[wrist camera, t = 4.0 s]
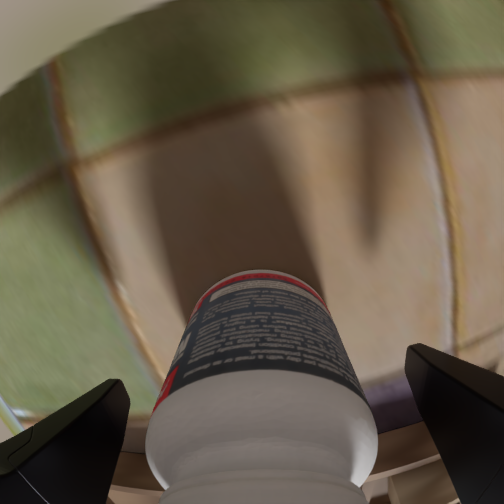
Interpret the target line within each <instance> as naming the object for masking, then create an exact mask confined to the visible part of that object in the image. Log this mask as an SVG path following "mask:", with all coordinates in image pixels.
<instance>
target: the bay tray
mask: <svg viewBox="0 0 504 504" xmlns="http://www.w3.org/2000/svg"><path fill="white" fill-rule="evenodd" d="M439 459H441V457H440V454H439V452H438V450H437V448H436V446H435V444H434V441H433V439H432V437H431V435H430V433H429V431H428V429H427V427H426V425H425V423H424V421H422V422H419V423H416V424H413V425H409V426H406V427H403V428H399V429H396V430H392V431H388V432H385V433H381V434H378V451H377V457H376V460H375V464H374V466H373V469H372V471H371V472H370V474H369V476H368V477H367V479H366V480H365V482H364V483H363V484H362V485H361V486H360V489H361V490H362V491H363V493H364V495H365V497H366V500H367V501H368V503H369V504H391V502H390V499H389V495H388V476H392V475H395V474H398V473H402V472H405V471H408V470H411V469H414V468H417V467H420V466H423V465H426V464H428V463H431V462H434V461H437V460H439ZM164 491H165V489H164V488H163V487H162V486H161V484H160V483H159V482H158V480H157V479H156V478H155V476H154V474H153V473H152V471H151V469H150V466H149V464H148V461H147V457H146V454H139V453H128V452H120V455H119V458H118V462H117V465H116V469H115V472H114V476H113V480H112V483H111V487H110V491H109V494H108V498H107V502H106V504H158V503H159V499H160V497H161V495H162V494H163V492H164Z"/></svg>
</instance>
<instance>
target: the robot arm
mask: <svg viewBox="0 0 504 504" xmlns="http://www.w3.org/2000/svg"><path fill="white" fill-rule="evenodd" d="M405 374H406V377H407V380H408V382H409V385H410V388H411V390H412V393H413V396H414V399H415V402H416V405H417V407H418V410H419V412H420V414H421V417H422V419H423V421H424V423H425V425H426V427H427V429H428V431H429V433H430V435H431V437H432V439H433V441H434V444H435V446H436V448H437V450H438V452H439V454H440V457H441V459H442V461H443V463H444V465H445V468H446V470H447V472H448V474H449V477H450V479H451V481H452V484H453V486H454V488H455V491H456V493H457V496H458V498H459V500H460V503H461V504H504V376H502V375H499V374H497V373H494V372H491V371H489V370H486V369H484V368H481V367H479V366H476V365H474V364H471V363H469V362H466V361H464V360H461V359H459V358H456V357H454V356H451V355H449V354H446V353H444V352H441V351H439V350H436V349H434V348H431V347H429V346H426V345H424V344H421V343H417V344H413V345H409V346H408V348H407V352H406V360H405ZM129 409H130V398H129V395H128V393H127V391H126V389H125V386H124V384H123V382H122V381H121V380H120V379H108V380H106V381H105V382H103V383H101V384H100V385H98V386H97V387H95V388H93V389H92V390H90V391H89V392H87V393H85V394H84V395H82V396H81V397H79V398H77V399H76V400H74V401H72V402H71V403H69V404H68V405H66V406H64V407H63V408H61V409H59V410H58V411H56V412H55V413H53V414H51V415H50V416H48V417H46V418H45V419H43V420H41V421H40V422H38V423H36V424H35V425H34V426H31V427H29V428H28V429H26V430H24V431H23V432H21V433H19V434H17V435H16V436H14V437H12V438H10V439H8V440H6V441H4V442H2V443H0V504H106V502H107V498H108V494H109V491H110V487H111V483H112V480H113V476H114V472H115V469H116V465H117V462H118V458H119V455H120V452H121V448H122V445H123V441H124V436H125V430H126V425H127V419H128V414H129Z"/></svg>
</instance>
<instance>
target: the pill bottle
mask: <svg viewBox="0 0 504 504" xmlns="http://www.w3.org/2000/svg"><path fill="white" fill-rule="evenodd" d="M145 450H146V457H147V461H148V464H149V466H150V469H151V471H152V473H153V474H154V476H155V478H156V479H157V480H158V482H159V483H160V484H161V486H162V487H163V488H164V489H165V491H164V492H163V494H162V495H161V497H160V499H159V503H158V504H369V503H368V501H367V500H366V497H365V495H364V493H363V491H362V490H361V489H360V486H361V485H362V484H363V483H364V482H365V480H366V479H367V477H368V476H369V474H370V472H371V471H372V469H373V466H374V464H375V460H376V457H377V451H378V434H377V428H376V424H375V421H374V418H373V415H372V412H371V409H370V406H369V404H368V401H367V399H366V397H365V394H364V392H363V390H362V388H361V385H360V383H359V381H358V378H357V376H356V374H355V371H354V369H353V367H352V364H351V362H350V360H349V357H348V355H347V353H346V350H345V348H344V346H343V343H342V341H341V338H340V336H339V333H338V331H337V328H336V326H335V324H334V322H333V319H332V317H331V314H330V312H329V310H328V308H327V306H326V305H325V303H324V301H323V300H322V298H321V297H320V296H319V295H318V293H317V292H316V291H315V290H314V289H313V288H312V287H310V286H309V285H308V284H306V283H305V282H304V281H302V280H300V279H298V278H296V277H294V276H292V275H290V274H286V273H283V272H279V271H273V270H249V271H243V272H239V273H236V274H233V275H231V276H228V277H226V278H224V279H222V280H221V281H219V282H217V283H216V284H214V285H213V286H212V287H211V288H209V289H208V290H207V291H206V292H205V293H204V294H203V295H202V297H201V298H200V299H199V301H198V302H197V304H196V306H195V308H194V310H193V312H192V314H191V316H190V318H189V321H188V324H187V326H186V329H185V331H184V334H183V336H182V339H181V341H180V344H179V346H178V349H177V351H176V354H175V357H174V359H173V361H172V364H171V367H170V370H169V372H168V374H167V377H166V379H165V382H164V384H163V387H162V389H161V392H160V394H159V396H158V399H157V402H156V404H155V407H154V409H153V412H152V415H151V418H150V421H149V425H148V429H147V433H146V440H145Z"/></svg>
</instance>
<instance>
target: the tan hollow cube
mask: <svg viewBox="0 0 504 504" xmlns="http://www.w3.org/2000/svg"><path fill="white" fill-rule="evenodd" d="M388 495H389V499H390V502H391V504H461V503H460V500H459V498H458V496H457V493H456V491H455V488H454V486H453V484H452V481H451V479H450V477H449V474H448V472H447V470H446V468H445V465H444V463H443V461H442V459H439V460H437V461H434V462H431V463H428V464H426V465H423V466H420V467H417V468H414V469H411V470H408V471H405V472H402V473H398V474H395V475H392V476H388Z"/></svg>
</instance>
